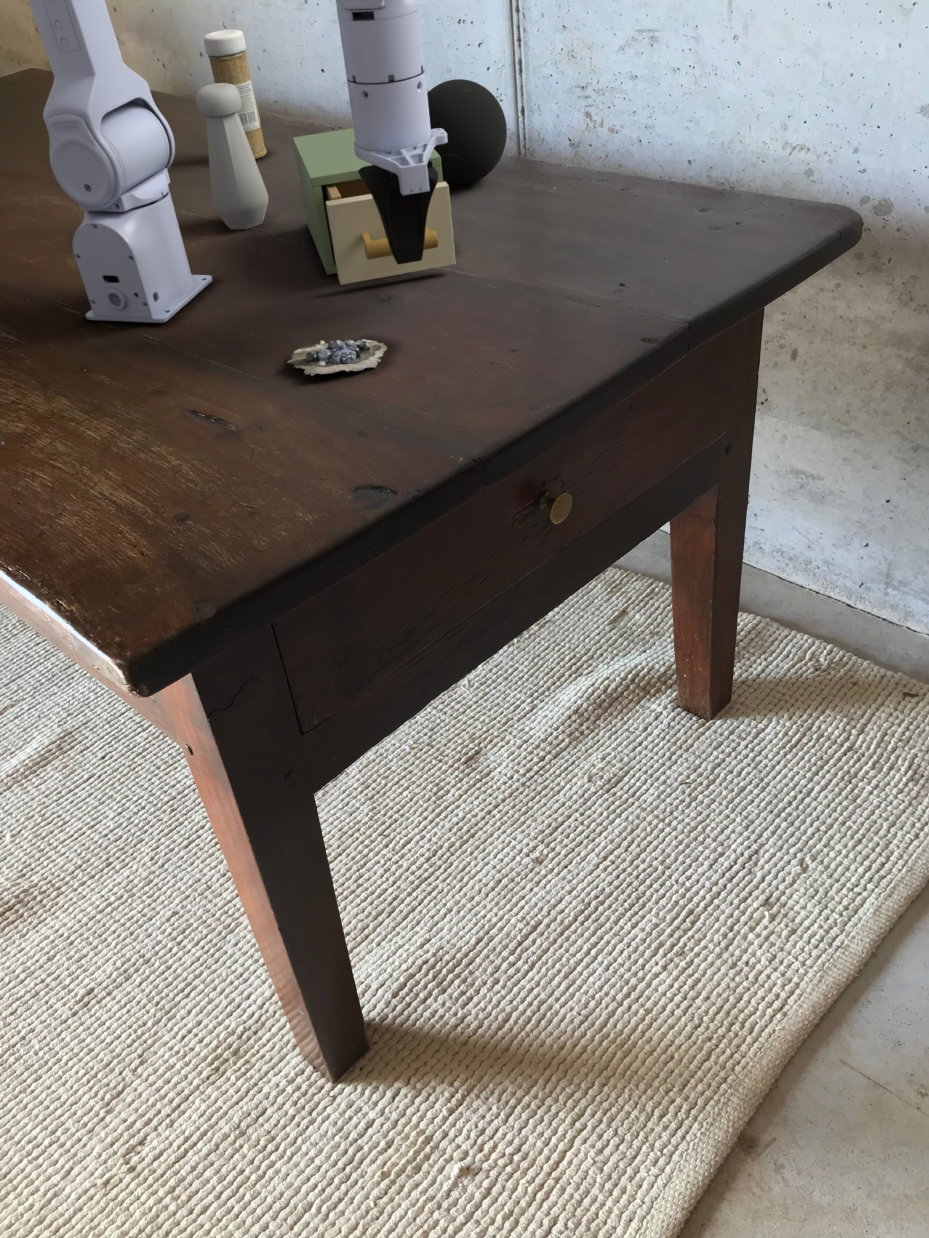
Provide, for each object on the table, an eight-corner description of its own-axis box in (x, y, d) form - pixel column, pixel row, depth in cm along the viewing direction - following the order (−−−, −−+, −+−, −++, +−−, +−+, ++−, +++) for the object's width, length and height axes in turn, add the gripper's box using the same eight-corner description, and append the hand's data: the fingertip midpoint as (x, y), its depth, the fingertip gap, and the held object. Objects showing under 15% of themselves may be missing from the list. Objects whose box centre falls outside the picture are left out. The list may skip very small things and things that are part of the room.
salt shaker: (261, 232, 104) (231, 93, 96) (209, 233, 105) (175, 95, 97) (280, 212, 108) (253, 77, 100) (230, 213, 109) (199, 79, 101)
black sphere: (399, 185, 112) (387, 84, 105) (471, 161, 116) (464, 64, 110) (454, 204, 106) (445, 99, 99) (528, 179, 110) (524, 76, 103)
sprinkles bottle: (265, 149, 127) (241, 26, 118) (268, 159, 124) (243, 33, 115) (229, 154, 127) (202, 32, 118) (230, 165, 123) (202, 39, 115)
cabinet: (449, 253, 95) (440, 156, 90) (327, 275, 94) (310, 177, 88) (419, 208, 106) (409, 119, 100) (308, 227, 104) (292, 137, 98)
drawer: (467, 281, 88) (460, 200, 83) (348, 303, 86) (334, 221, 82) (425, 220, 100) (418, 146, 96) (321, 238, 99) (308, 164, 94)
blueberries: (274, 363, 81) (269, 341, 79) (359, 330, 84) (356, 308, 83) (319, 392, 76) (314, 368, 75) (406, 356, 80) (403, 333, 78)
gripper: (463, 88, 69) (478, 283, 78) (418, 47, 80) (436, 222, 89) (361, 104, 68) (387, 299, 77) (330, 60, 79) (356, 236, 88)
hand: (408, 259), depth 83 cm, fingers closed
